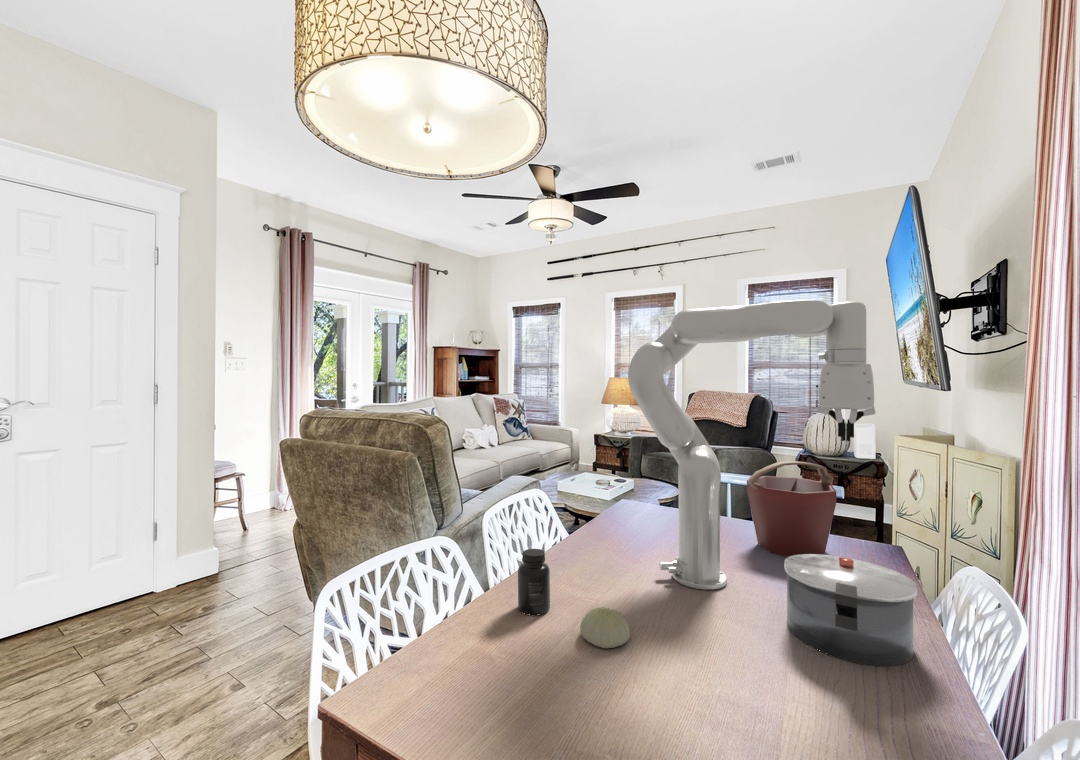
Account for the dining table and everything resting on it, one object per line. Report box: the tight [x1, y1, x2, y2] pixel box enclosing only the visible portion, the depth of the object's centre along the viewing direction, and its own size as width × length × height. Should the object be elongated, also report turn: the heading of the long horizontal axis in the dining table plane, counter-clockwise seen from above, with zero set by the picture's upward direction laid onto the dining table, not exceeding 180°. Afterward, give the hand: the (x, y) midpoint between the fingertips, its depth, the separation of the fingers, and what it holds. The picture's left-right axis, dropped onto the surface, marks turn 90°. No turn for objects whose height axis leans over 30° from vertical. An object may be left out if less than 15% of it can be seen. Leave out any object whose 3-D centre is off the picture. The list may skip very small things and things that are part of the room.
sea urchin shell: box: [580, 606, 631, 649], centre depth 88 cm, size 9×8×8 cm
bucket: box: [746, 460, 837, 558], centre depth 134 cm, size 24×22×25 cm
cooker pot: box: [786, 573, 914, 668], centre depth 87 cm, size 27×20×10 cm
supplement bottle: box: [517, 548, 551, 616], centre depth 99 cm, size 7×7×12 cm
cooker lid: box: [783, 554, 918, 608], centre depth 87 cm, size 26×21×2 cm
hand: (845, 440), depth 104 cm, fingers closed
